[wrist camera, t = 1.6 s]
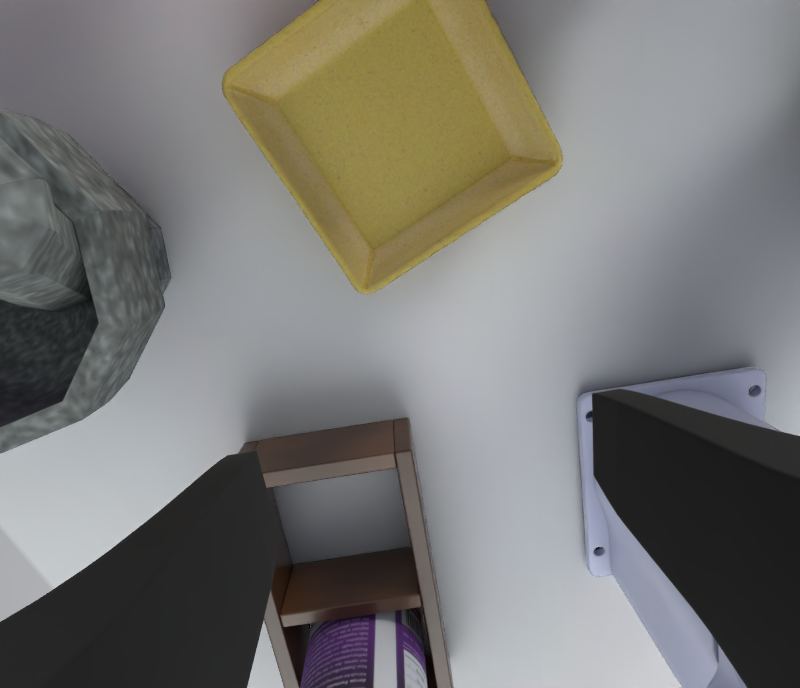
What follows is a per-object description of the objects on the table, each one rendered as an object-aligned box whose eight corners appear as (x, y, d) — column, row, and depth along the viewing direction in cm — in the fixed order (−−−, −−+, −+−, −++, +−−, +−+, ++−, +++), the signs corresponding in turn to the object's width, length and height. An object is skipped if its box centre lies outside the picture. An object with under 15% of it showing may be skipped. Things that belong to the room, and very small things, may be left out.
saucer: (551, 170, 18) (572, 166, 16) (365, 292, 20) (362, 301, 18) (434, -56, 16) (440, -93, 14) (232, 94, 17) (211, 79, 15)
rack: (409, 416, 21) (412, 449, 18) (450, 662, 25) (458, 721, 22) (244, 442, 21) (221, 479, 18) (310, 682, 25) (300, 744, 22)
